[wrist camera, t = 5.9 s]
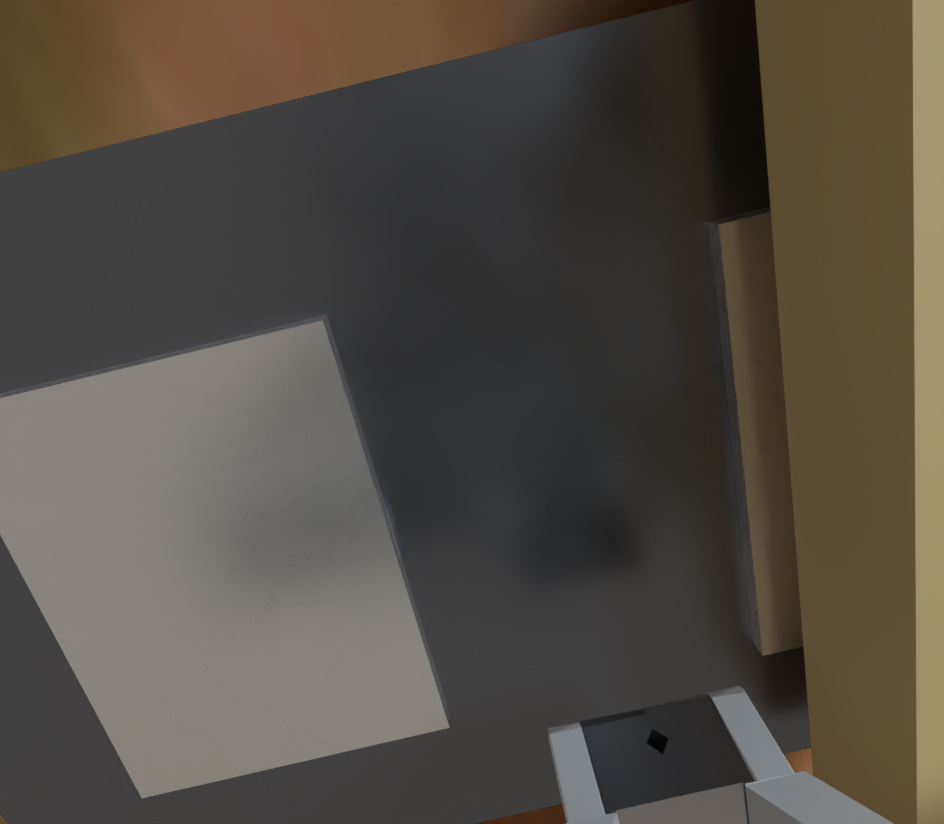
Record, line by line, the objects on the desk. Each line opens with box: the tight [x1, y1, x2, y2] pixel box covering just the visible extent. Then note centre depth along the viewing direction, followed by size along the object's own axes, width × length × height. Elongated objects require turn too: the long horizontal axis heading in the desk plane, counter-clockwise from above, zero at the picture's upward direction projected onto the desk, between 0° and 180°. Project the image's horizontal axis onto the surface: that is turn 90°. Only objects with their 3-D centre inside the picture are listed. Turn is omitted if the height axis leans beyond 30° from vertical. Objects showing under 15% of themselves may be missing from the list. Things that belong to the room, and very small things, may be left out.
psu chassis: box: [0, 0, 811, 824], centre depth 13 cm, size 17×24×4 cm
